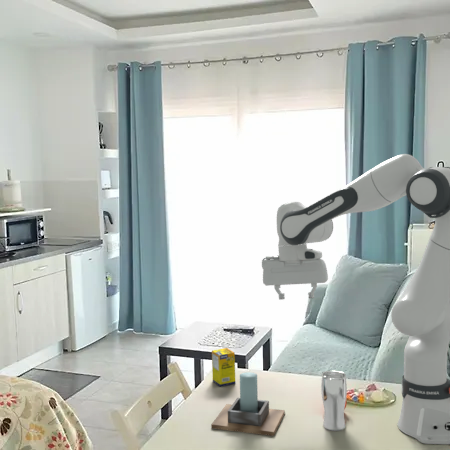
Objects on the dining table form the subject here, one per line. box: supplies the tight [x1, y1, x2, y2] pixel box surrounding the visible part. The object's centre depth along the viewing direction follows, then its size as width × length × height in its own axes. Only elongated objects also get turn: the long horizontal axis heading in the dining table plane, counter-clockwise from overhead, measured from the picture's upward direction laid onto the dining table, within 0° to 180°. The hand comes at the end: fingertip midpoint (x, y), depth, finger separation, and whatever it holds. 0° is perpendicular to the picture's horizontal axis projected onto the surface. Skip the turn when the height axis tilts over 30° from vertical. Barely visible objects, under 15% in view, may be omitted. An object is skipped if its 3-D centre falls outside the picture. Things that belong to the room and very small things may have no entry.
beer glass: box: [320, 369, 348, 432], centre depth 162 cm, size 7×7×15 cm
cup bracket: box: [210, 397, 286, 437], centre depth 167 cm, size 18×14×5 cm
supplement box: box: [211, 347, 236, 387], centre depth 196 cm, size 6×6×11 cm
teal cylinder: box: [239, 371, 259, 413], centre depth 167 cm, size 5×5×12 cm
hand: (296, 298), depth 181 cm, fingers open, 8 cm apart
